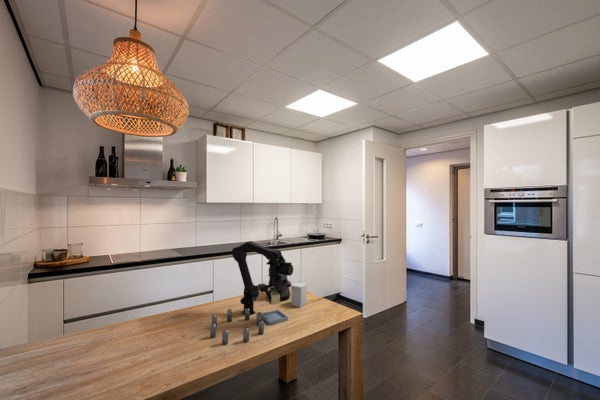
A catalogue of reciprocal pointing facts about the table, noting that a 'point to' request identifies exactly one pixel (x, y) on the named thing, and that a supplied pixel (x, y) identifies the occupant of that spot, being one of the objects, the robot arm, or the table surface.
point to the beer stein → (286, 292)
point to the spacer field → (245, 330)
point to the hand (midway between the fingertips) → (274, 300)
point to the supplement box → (299, 295)
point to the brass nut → (275, 298)
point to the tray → (274, 317)
